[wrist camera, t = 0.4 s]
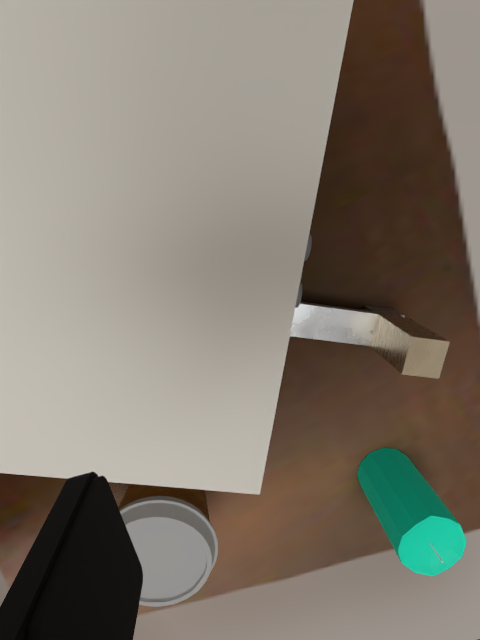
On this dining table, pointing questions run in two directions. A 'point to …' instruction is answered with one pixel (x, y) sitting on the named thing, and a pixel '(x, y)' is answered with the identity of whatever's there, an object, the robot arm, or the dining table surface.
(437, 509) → the candle
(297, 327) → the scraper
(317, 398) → the dining table surface
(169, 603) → the disposable coffee cup
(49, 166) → the cabinet
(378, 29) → the dining table surface
